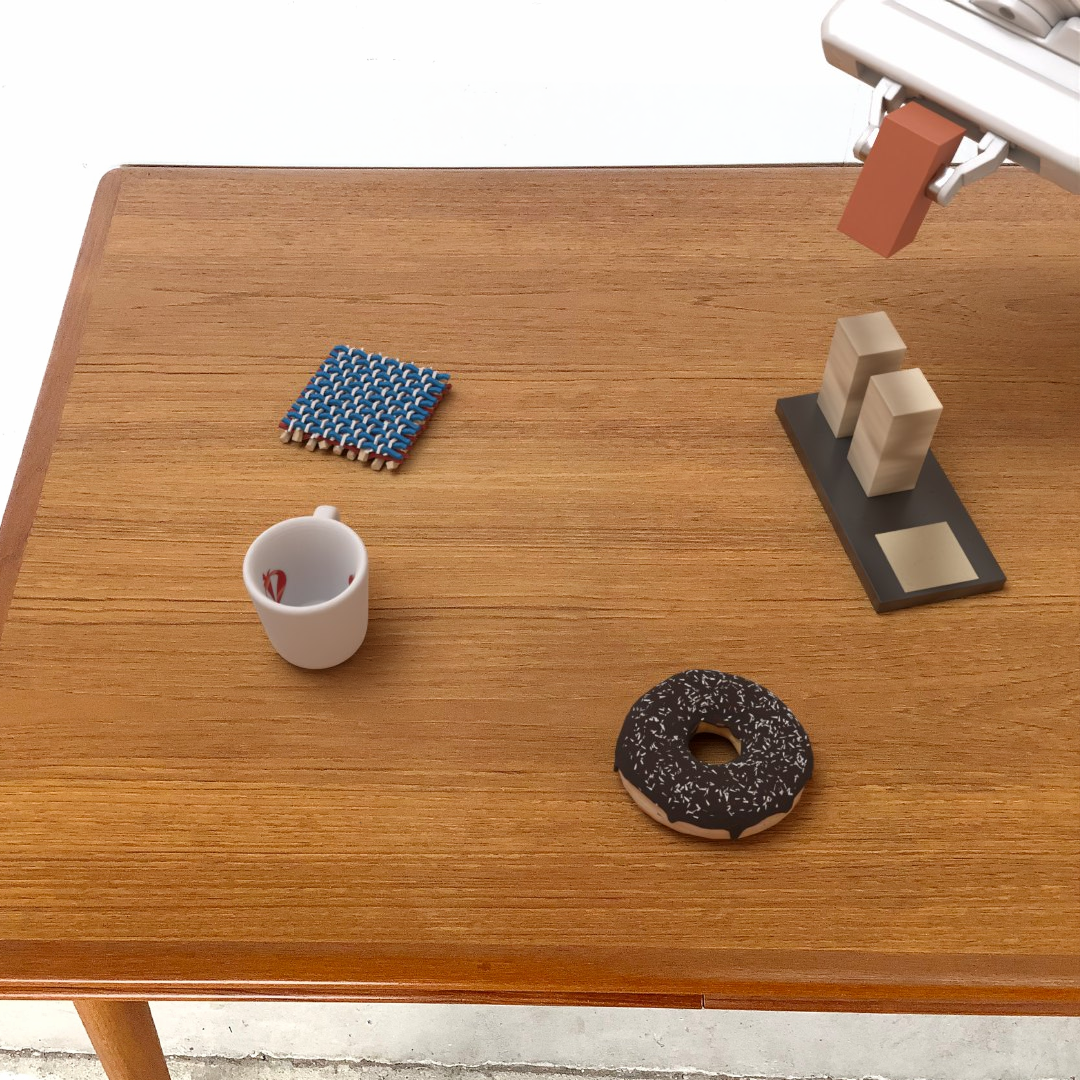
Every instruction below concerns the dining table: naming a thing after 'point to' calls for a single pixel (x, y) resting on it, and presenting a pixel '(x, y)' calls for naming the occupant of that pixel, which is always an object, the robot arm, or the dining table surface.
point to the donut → (704, 789)
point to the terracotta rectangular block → (899, 178)
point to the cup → (310, 588)
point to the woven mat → (365, 406)
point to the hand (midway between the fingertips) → (898, 179)
